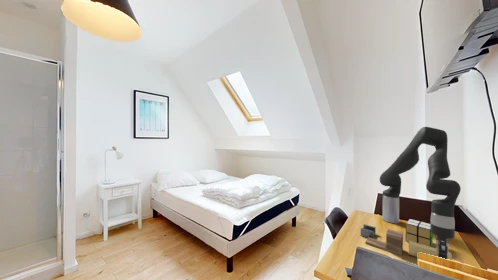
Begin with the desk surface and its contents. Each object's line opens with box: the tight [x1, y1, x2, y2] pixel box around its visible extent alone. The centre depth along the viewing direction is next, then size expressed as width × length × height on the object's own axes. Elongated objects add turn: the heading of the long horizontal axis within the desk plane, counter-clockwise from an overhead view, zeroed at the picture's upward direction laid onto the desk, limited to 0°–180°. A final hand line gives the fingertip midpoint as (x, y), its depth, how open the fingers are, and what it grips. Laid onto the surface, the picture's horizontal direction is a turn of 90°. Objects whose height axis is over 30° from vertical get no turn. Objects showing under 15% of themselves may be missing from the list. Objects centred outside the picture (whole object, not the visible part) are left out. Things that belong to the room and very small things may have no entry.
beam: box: [365, 228, 404, 257], centre depth 98 cm, size 7×15×9 cm, turn 47°
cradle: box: [360, 224, 377, 239], centre depth 110 cm, size 8×6×4 cm
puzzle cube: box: [405, 218, 434, 247], centre depth 103 cm, size 10×10×10 cm
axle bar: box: [408, 241, 453, 261], centre depth 86 cm, size 4×14×5 cm, turn 47°
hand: (441, 263), depth 83 cm, fingers closed on axle bar, 4 cm apart
